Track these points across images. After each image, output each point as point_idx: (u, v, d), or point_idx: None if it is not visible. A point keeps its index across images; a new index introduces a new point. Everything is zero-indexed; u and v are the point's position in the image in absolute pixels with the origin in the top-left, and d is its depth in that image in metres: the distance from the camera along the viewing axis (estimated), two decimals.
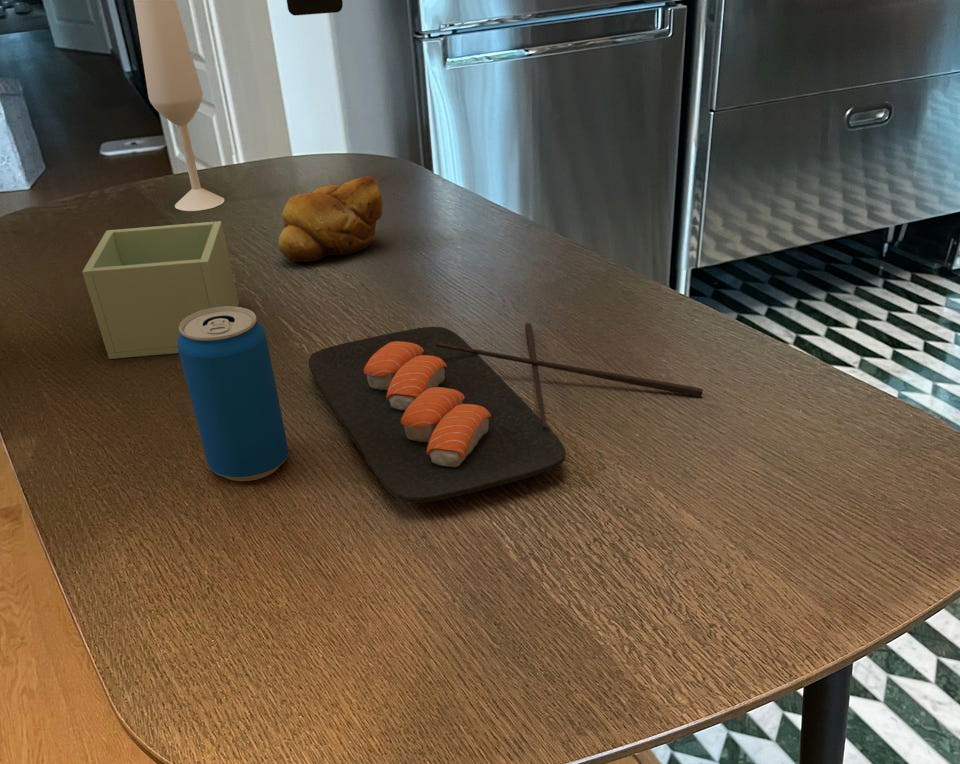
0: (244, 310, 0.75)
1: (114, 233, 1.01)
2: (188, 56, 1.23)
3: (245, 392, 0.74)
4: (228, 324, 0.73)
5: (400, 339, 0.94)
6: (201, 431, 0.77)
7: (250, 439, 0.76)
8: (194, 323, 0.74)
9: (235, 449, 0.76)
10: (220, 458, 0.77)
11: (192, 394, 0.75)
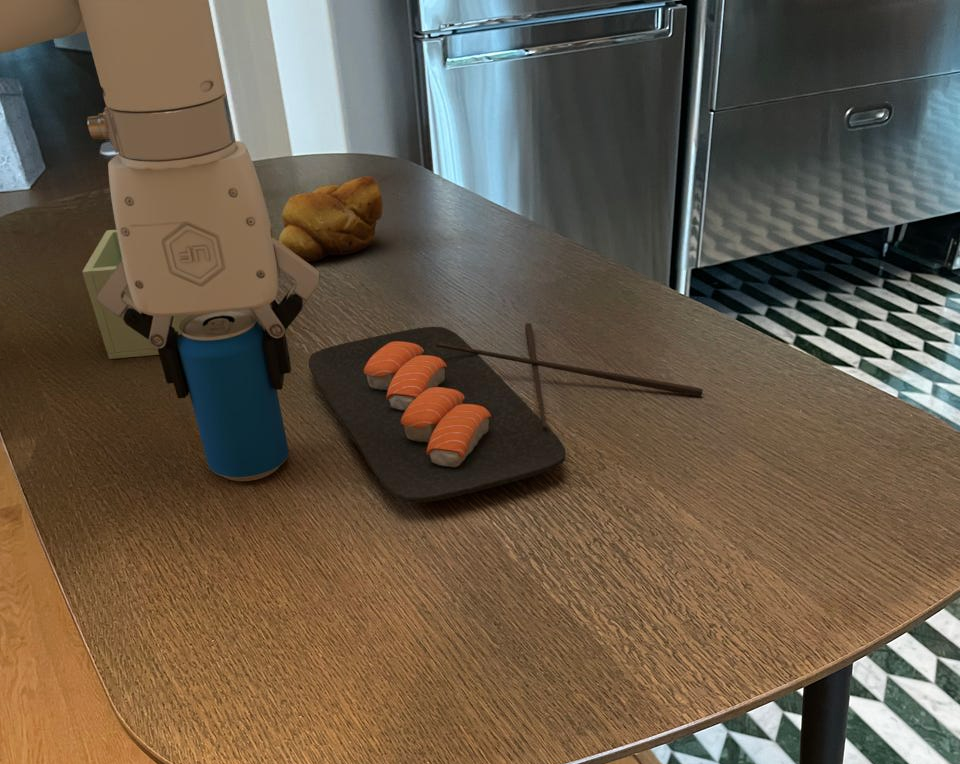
0: (244, 310, 0.75)
1: (114, 233, 1.01)
2: None
3: (245, 392, 0.74)
4: (228, 324, 0.73)
5: (400, 339, 0.94)
6: (201, 431, 0.77)
7: (250, 439, 0.76)
8: (194, 323, 0.74)
9: (235, 449, 0.76)
10: (220, 458, 0.77)
11: (192, 394, 0.75)
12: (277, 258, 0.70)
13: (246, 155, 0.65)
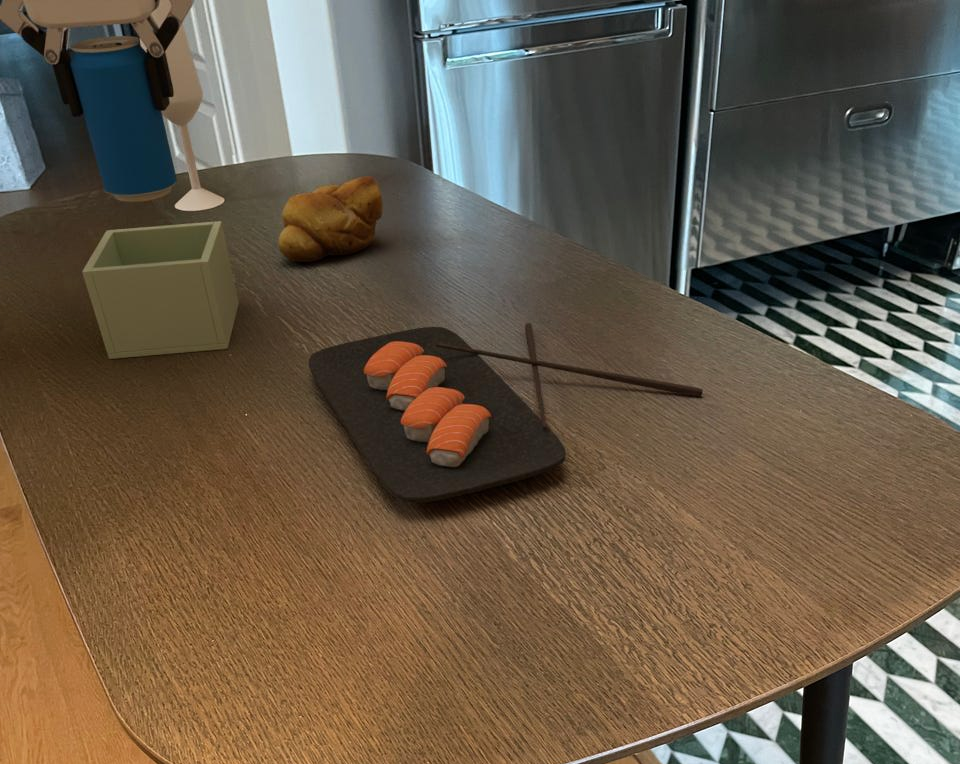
0: (131, 39, 0.85)
1: (114, 233, 1.01)
2: (188, 56, 1.23)
3: (130, 107, 0.84)
4: (114, 45, 0.84)
5: (400, 339, 0.94)
6: (95, 150, 0.87)
7: (136, 156, 0.87)
8: (86, 45, 0.84)
9: (124, 165, 0.87)
10: (112, 175, 0.88)
11: (84, 111, 0.85)
12: None
13: None
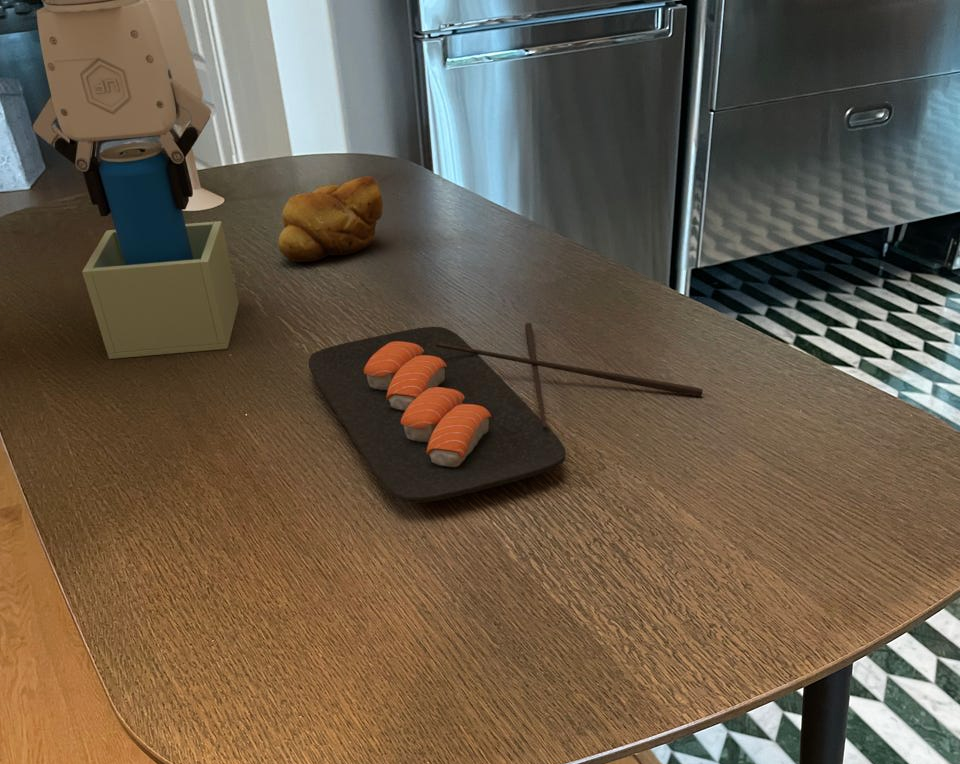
0: (153, 145, 0.93)
1: (114, 233, 1.01)
2: (188, 56, 1.23)
3: (153, 208, 0.92)
4: (139, 153, 0.92)
5: (400, 339, 0.94)
6: (121, 245, 0.95)
7: (159, 250, 0.95)
8: (113, 152, 0.92)
9: (148, 259, 0.95)
10: None
11: (112, 211, 0.93)
12: (175, 94, 0.89)
13: (144, 5, 0.84)
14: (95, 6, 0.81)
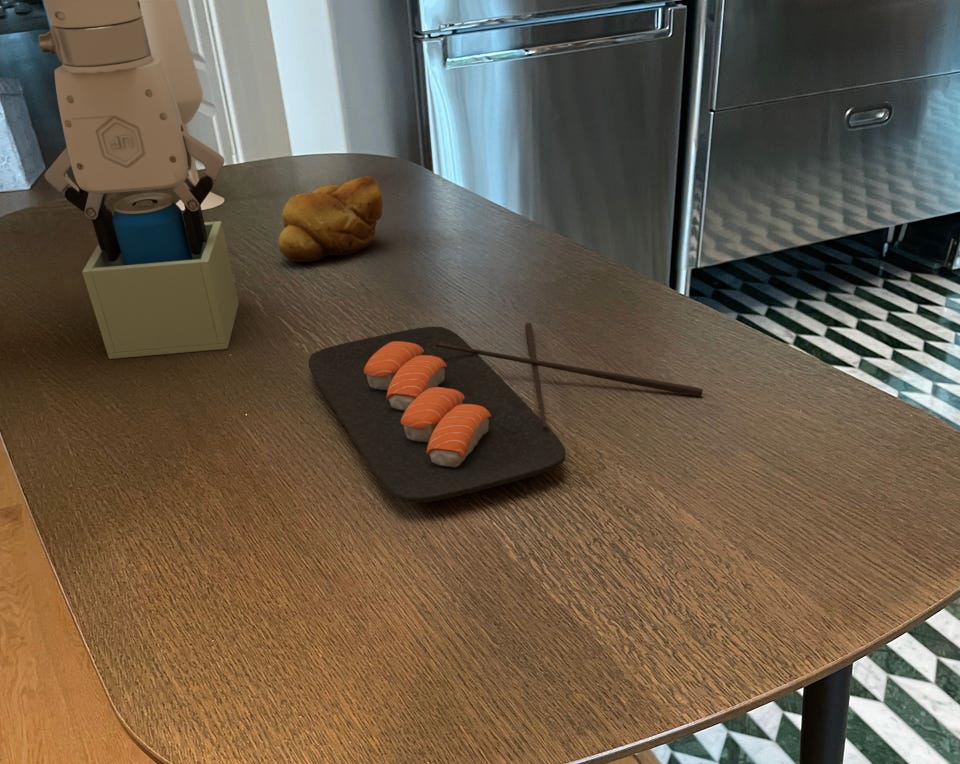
0: (165, 195, 0.96)
1: None
2: (188, 56, 1.23)
3: (165, 257, 0.95)
4: (151, 204, 0.95)
5: (400, 339, 0.94)
6: None
7: None
8: (126, 203, 0.95)
9: None
10: None
11: (125, 260, 0.96)
12: (187, 149, 0.91)
13: (159, 65, 0.87)
14: (111, 68, 0.84)
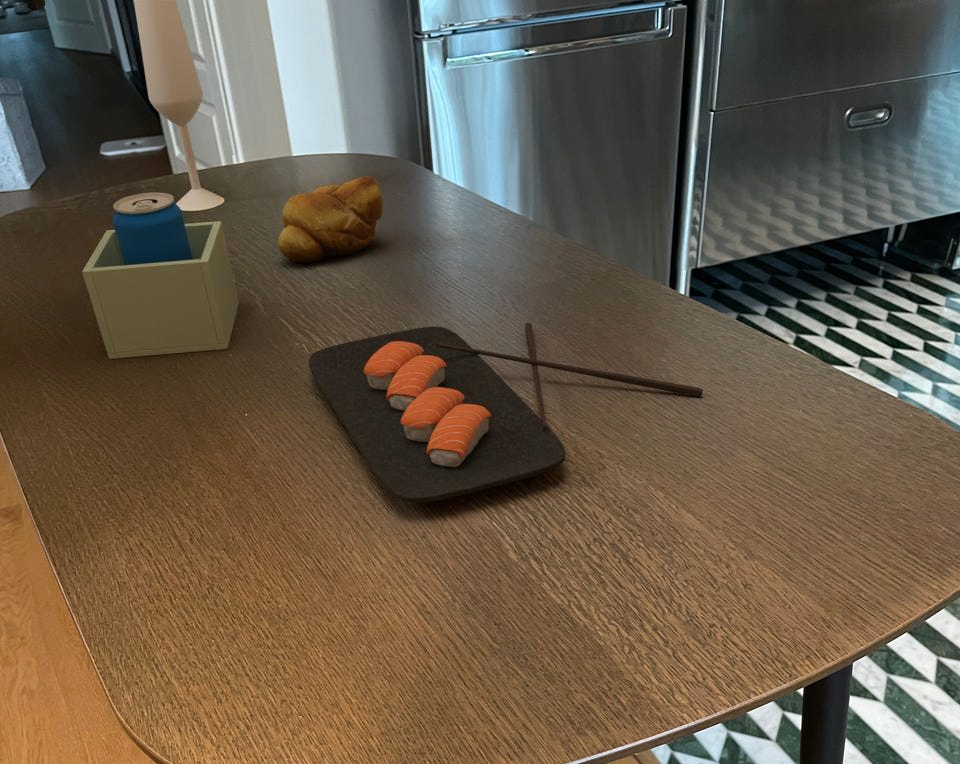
0: (165, 195, 0.96)
1: (114, 233, 1.01)
2: (188, 56, 1.23)
3: (165, 257, 0.95)
4: (151, 204, 0.95)
5: (400, 339, 0.94)
6: None
7: None
8: (126, 203, 0.95)
9: None
10: None
11: (125, 260, 0.96)
12: None
13: None
14: None
